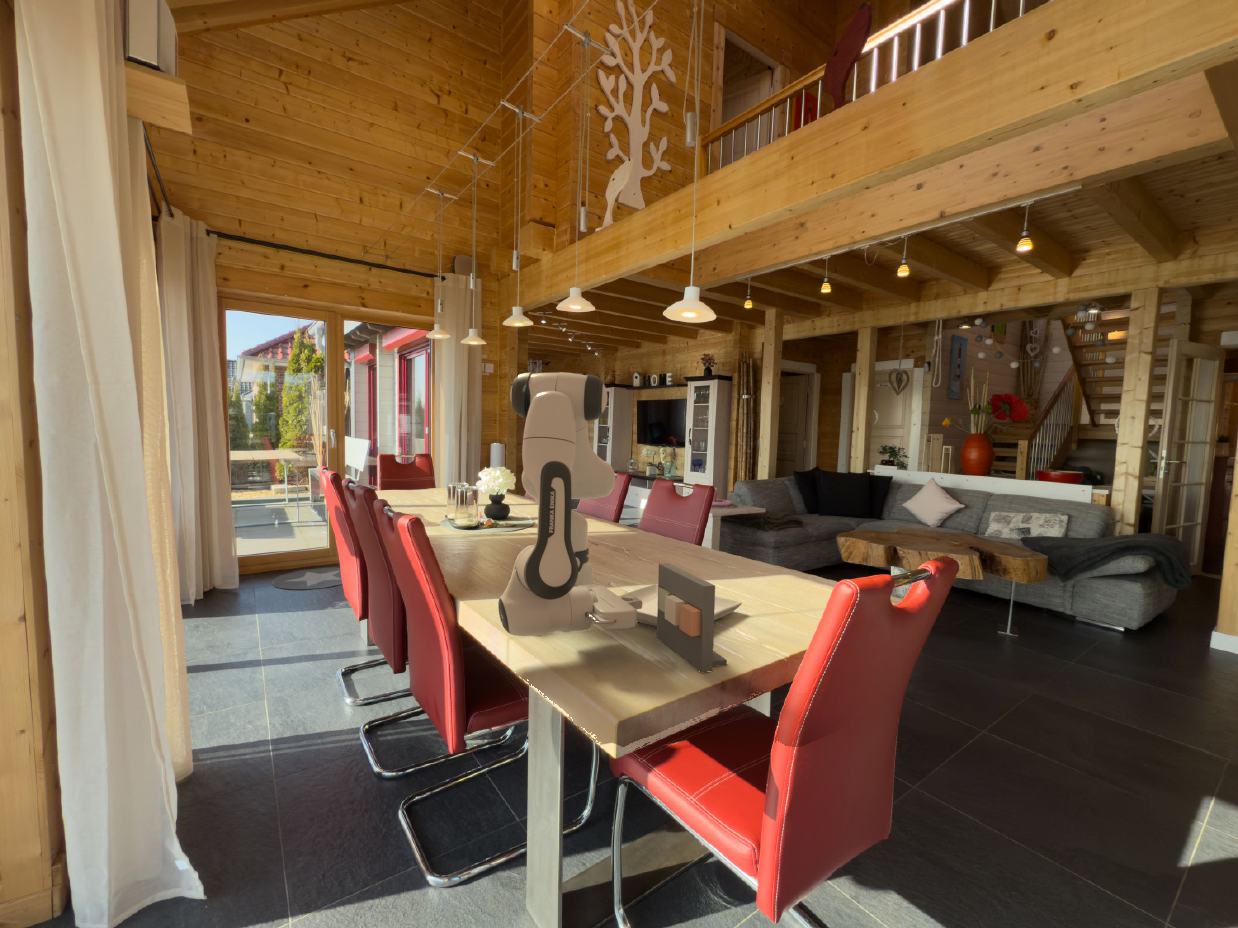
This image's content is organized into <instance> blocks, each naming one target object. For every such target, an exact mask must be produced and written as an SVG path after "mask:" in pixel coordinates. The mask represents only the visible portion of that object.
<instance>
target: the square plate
mask: <svg viewBox="0 0 1238 928" xmlns="http://www.w3.org/2000/svg"><path fill="white" fill-rule="evenodd" d="M619 596H623V597H629V598H630V597H637V598H638V599H639V600H641V601H642V608H641V609H637V623H638V622H639V623H643V624H645V625H649V626H653V627H656V628H657V612H658V583H655V584H652V585H647V586H644V587H641V588H638V589H634V590H632V591H629V592H627V593H623V594H620V595H619ZM741 606H742V602H740V601H738V600H734V599H729V598H725V597H721V596H717V595H715V608H714V621H717V620H719V619H721V618H724V617H726V616H728V615H729V614H731V613H733V612H735V611H736V610H737V609H739V607H741Z"/></svg>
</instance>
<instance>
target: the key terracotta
mask: <svg viewBox="0 0 1238 928" xmlns="http://www.w3.org/2000/svg"><path fill="white" fill-rule="evenodd" d="M679 629H681V630H682V631H683V632H685V633H686V634H688V635H689V636H699V635H701V610H700V609H699V608H697V607H695V606H694V605H692V604H684V605H680V615H679Z"/></svg>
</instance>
